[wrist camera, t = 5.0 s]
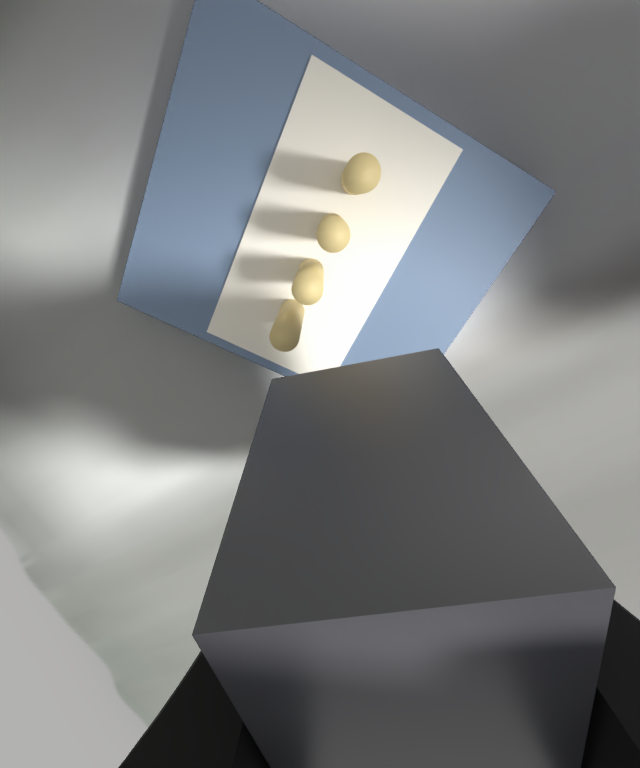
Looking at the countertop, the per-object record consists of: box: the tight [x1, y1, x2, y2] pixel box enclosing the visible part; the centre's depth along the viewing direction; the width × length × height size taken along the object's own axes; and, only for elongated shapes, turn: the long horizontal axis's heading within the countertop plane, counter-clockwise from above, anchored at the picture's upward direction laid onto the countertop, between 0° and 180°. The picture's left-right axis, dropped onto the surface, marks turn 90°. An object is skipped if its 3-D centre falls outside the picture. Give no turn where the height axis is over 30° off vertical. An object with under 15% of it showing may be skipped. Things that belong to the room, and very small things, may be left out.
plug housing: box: [192, 348, 616, 768], centre depth 8 cm, size 4×8×6 cm, turn 12°
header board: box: [117, 0, 556, 377], centre depth 12 cm, size 12×10×4 cm
